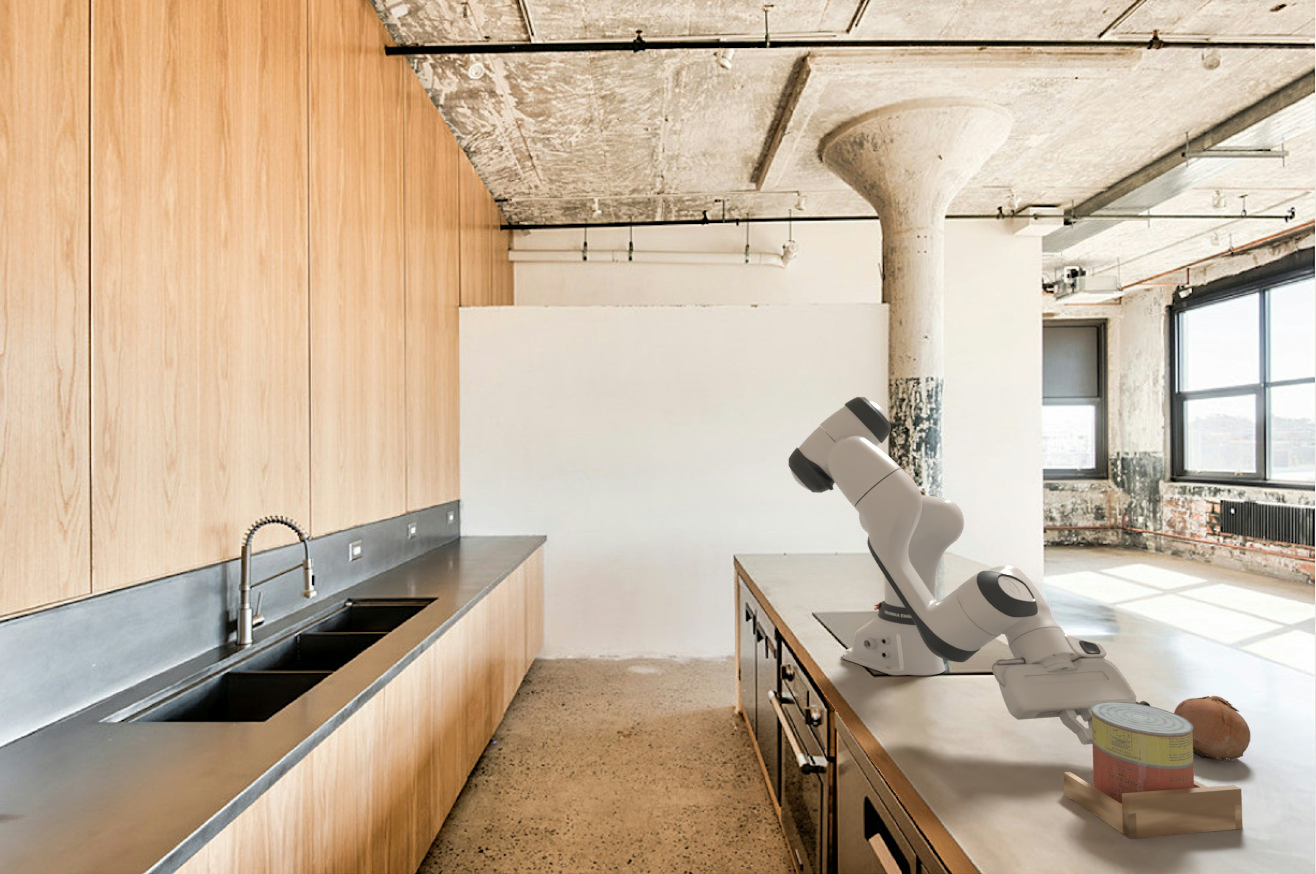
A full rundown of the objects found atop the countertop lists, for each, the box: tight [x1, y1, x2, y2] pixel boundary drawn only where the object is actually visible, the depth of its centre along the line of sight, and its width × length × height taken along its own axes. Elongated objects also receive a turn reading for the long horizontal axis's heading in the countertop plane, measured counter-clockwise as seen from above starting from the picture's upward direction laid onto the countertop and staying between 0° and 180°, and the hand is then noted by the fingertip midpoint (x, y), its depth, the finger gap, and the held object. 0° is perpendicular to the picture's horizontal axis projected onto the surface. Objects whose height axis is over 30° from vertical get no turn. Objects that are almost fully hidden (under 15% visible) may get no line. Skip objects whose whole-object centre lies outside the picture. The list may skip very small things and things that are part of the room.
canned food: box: [1091, 702, 1195, 804], centre depth 90 cm, size 11×11×12 cm
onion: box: [1173, 695, 1251, 762], centre depth 105 cm, size 10×9×10 cm
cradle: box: [1063, 771, 1244, 839], centre depth 89 cm, size 11×16×5 cm
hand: (1094, 742), depth 99 cm, fingers closed
